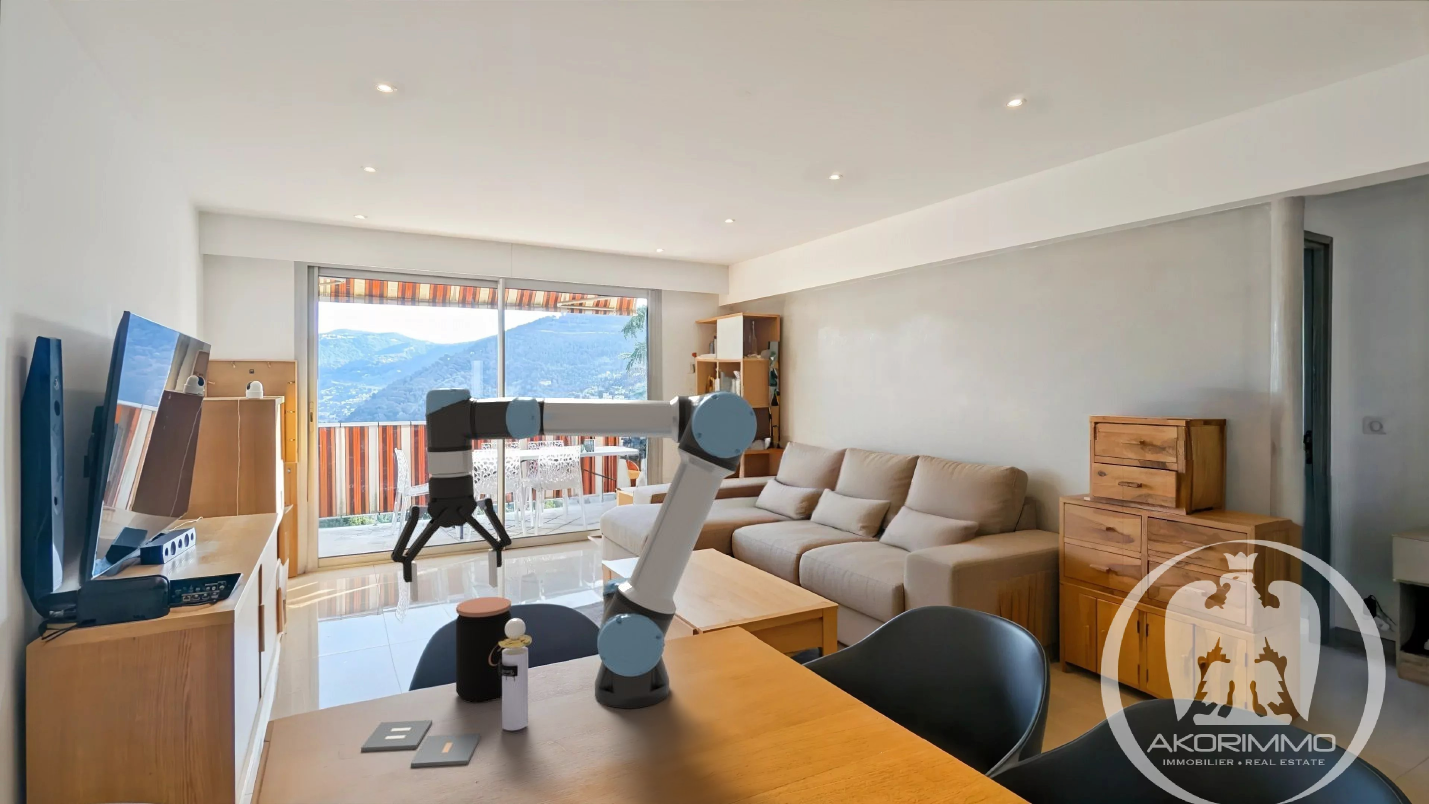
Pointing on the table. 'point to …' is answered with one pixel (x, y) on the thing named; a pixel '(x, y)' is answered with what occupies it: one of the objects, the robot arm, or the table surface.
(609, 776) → the table surface
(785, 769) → the table surface
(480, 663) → the coffee jar
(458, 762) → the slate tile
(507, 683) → the perfume bottle
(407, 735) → the slate code tile
